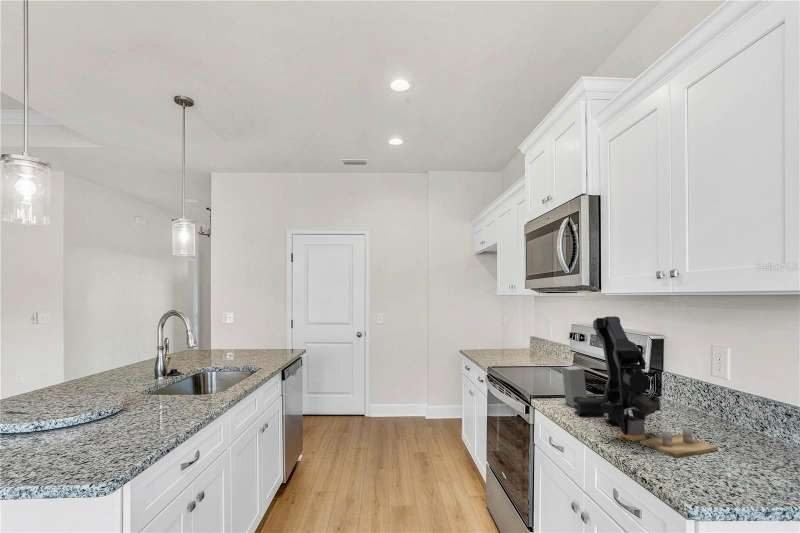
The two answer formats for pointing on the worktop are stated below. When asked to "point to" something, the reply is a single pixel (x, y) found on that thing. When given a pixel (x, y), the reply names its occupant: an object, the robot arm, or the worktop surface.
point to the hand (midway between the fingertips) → (632, 433)
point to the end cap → (588, 405)
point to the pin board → (678, 444)
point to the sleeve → (634, 429)
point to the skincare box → (574, 384)
